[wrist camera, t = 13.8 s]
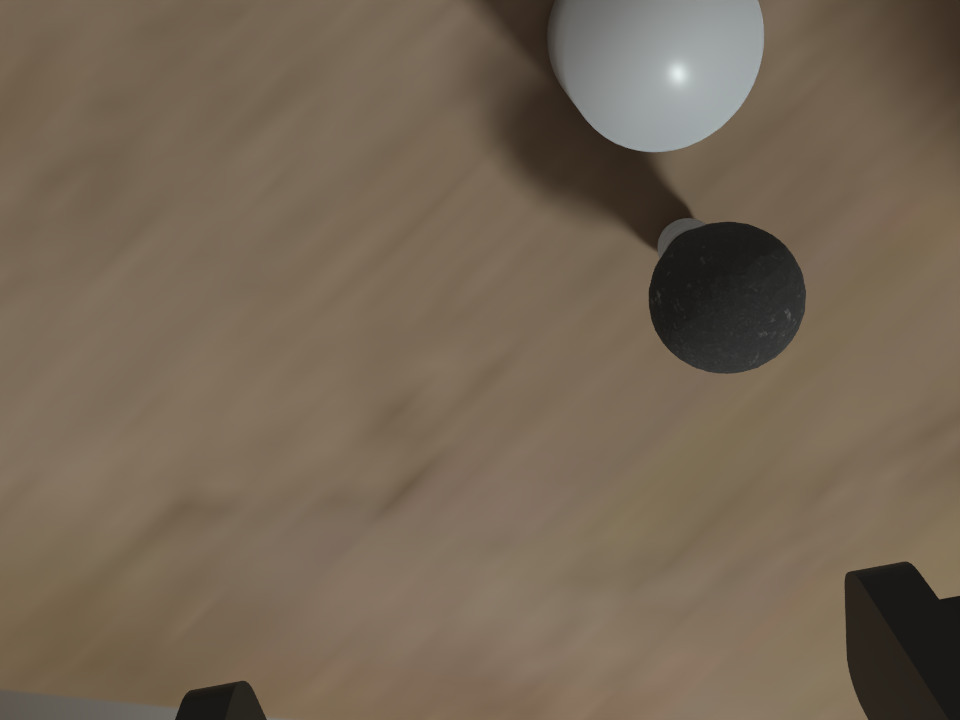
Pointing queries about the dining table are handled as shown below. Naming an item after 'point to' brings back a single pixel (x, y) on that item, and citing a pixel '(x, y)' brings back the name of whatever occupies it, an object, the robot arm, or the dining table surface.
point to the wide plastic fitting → (656, 65)
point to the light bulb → (725, 295)
